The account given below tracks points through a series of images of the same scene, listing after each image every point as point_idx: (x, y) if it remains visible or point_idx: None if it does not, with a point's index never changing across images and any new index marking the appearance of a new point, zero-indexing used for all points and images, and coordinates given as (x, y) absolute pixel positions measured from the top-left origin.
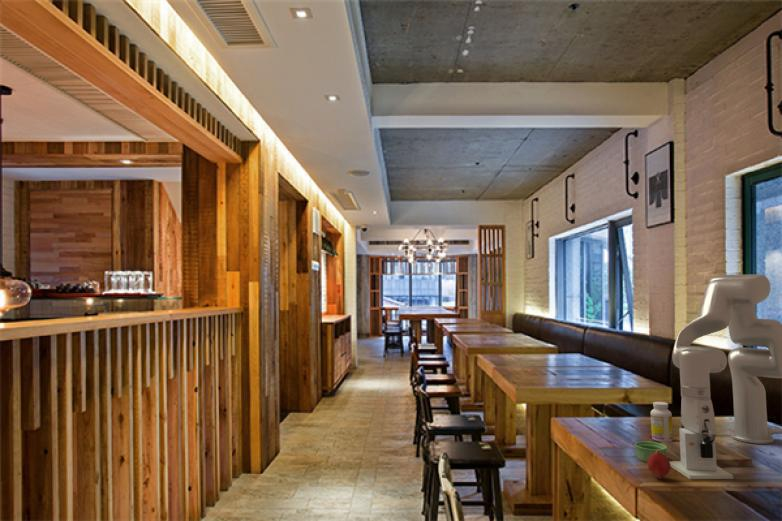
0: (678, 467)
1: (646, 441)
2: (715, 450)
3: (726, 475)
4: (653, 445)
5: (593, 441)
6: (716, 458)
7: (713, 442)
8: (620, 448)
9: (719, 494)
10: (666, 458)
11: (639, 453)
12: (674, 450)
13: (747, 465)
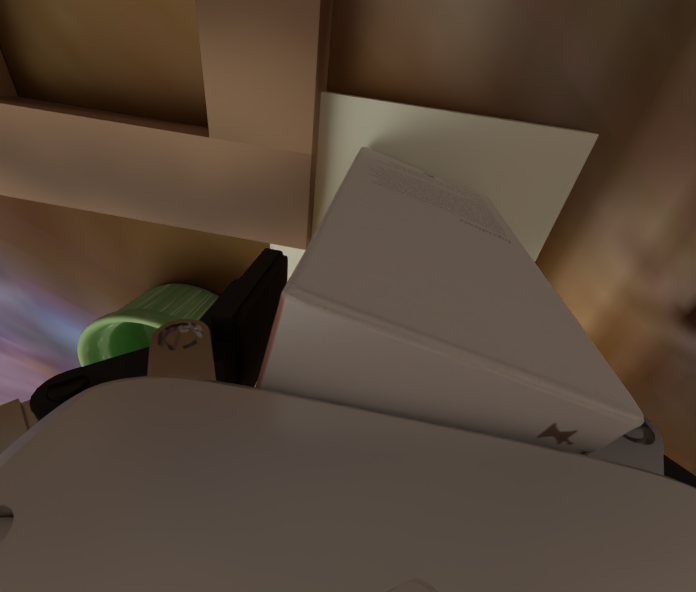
0: None
1: (83, 360)
2: (538, 270)
3: (571, 184)
4: (109, 331)
5: (2, 386)
6: (289, 6)
7: (659, 433)
8: (66, 354)
9: (686, 373)
10: None
11: None
12: (109, 212)
13: None
